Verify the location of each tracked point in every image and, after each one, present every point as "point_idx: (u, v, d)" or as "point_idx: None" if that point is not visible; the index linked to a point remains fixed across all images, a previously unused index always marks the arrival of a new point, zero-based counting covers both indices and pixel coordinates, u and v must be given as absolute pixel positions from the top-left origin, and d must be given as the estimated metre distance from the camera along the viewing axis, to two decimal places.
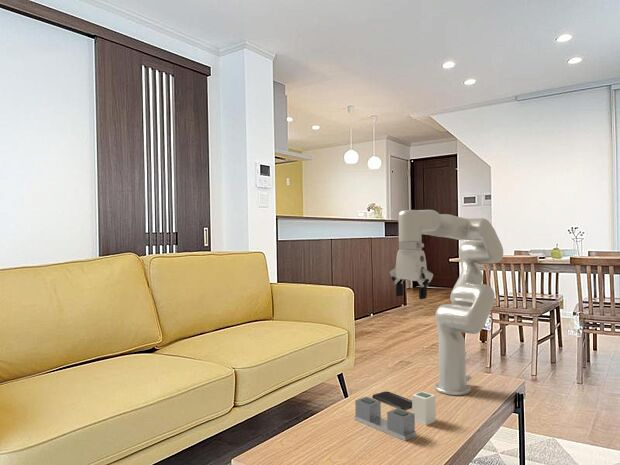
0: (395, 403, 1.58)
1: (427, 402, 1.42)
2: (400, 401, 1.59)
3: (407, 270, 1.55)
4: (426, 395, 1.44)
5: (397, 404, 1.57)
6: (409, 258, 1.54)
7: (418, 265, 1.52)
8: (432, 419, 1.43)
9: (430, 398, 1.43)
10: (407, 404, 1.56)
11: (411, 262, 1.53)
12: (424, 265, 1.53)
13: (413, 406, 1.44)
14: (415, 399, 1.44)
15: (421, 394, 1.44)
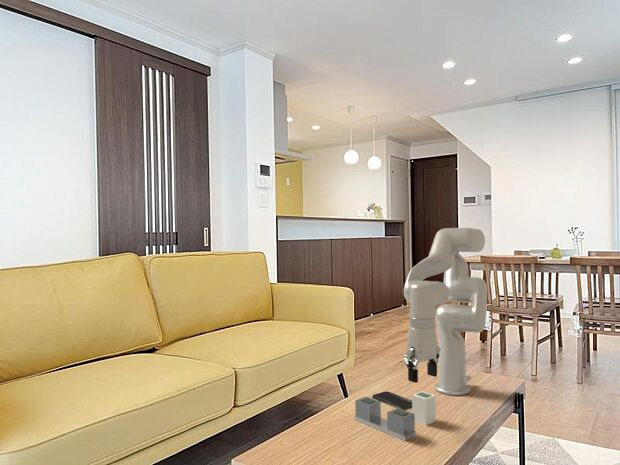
0: (395, 403, 1.58)
1: (427, 402, 1.42)
2: (400, 401, 1.59)
3: (430, 349, 1.43)
4: (426, 395, 1.44)
5: (397, 404, 1.57)
6: (432, 336, 1.43)
7: None
8: (432, 419, 1.43)
9: (430, 398, 1.43)
10: (407, 404, 1.57)
11: (433, 340, 1.44)
12: None
13: (413, 406, 1.44)
14: (415, 399, 1.44)
15: (421, 394, 1.44)
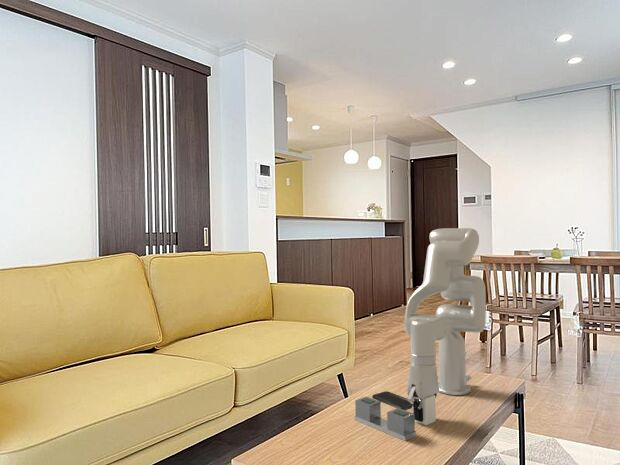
0: (395, 403, 1.57)
1: (427, 402, 1.42)
2: (400, 401, 1.59)
3: (431, 386, 1.43)
4: None
5: (397, 404, 1.57)
6: (433, 372, 1.43)
7: None
8: (432, 419, 1.43)
9: (430, 398, 1.42)
10: (407, 404, 1.57)
11: (434, 376, 1.44)
12: None
13: None
14: None
15: None
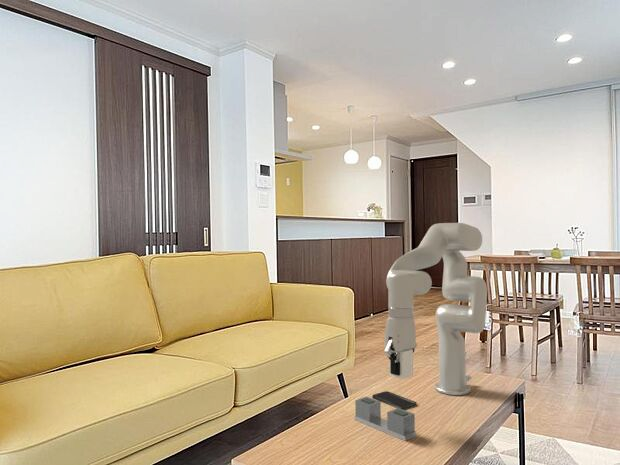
0: (395, 403, 1.57)
1: (405, 356, 1.39)
2: (400, 401, 1.59)
3: (408, 339, 1.40)
4: None
5: (397, 404, 1.57)
6: (410, 326, 1.41)
7: None
8: (409, 374, 1.40)
9: (408, 352, 1.40)
10: (407, 404, 1.57)
11: (412, 329, 1.41)
12: None
13: None
14: None
15: None
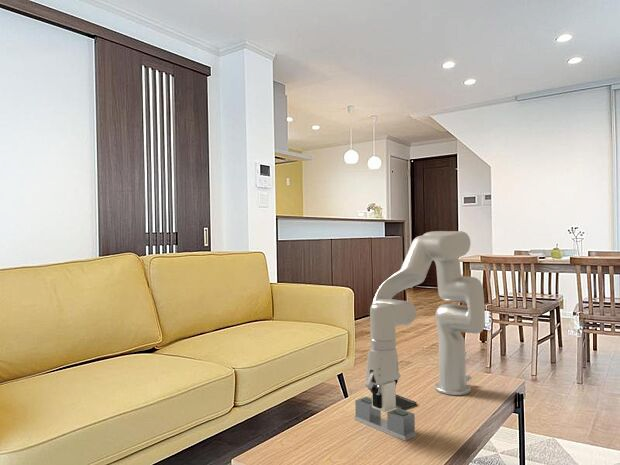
0: None
1: (386, 388, 1.37)
2: (400, 401, 1.59)
3: (390, 371, 1.38)
4: None
5: (397, 404, 1.57)
6: (392, 357, 1.39)
7: None
8: (392, 406, 1.38)
9: (390, 384, 1.38)
10: (407, 404, 1.57)
11: (394, 361, 1.40)
12: None
13: None
14: None
15: None
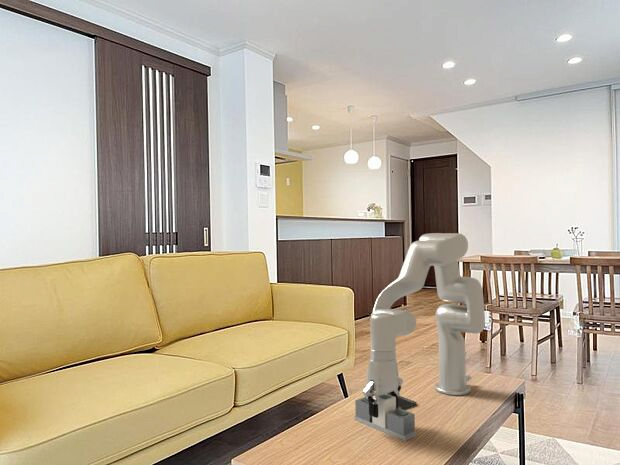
0: None
1: (387, 404, 1.37)
2: (400, 401, 1.59)
3: (390, 382, 1.38)
4: (386, 397, 1.39)
5: None
6: (392, 368, 1.39)
7: None
8: None
9: (390, 400, 1.38)
10: (407, 404, 1.57)
11: (394, 371, 1.40)
12: None
13: None
14: None
15: (381, 396, 1.40)
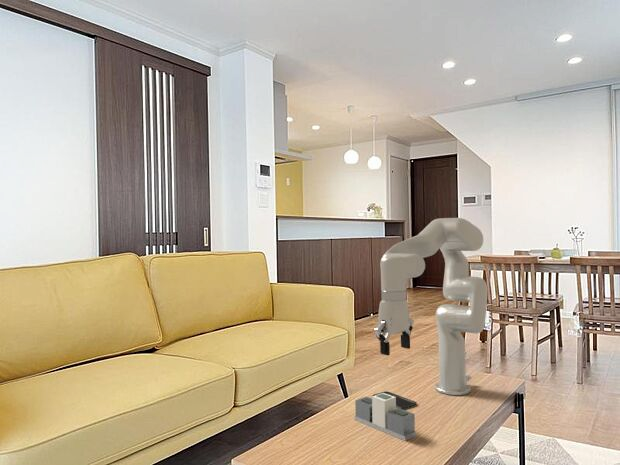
0: None
1: (387, 404, 1.37)
2: (400, 401, 1.59)
3: (401, 322, 1.42)
4: (386, 397, 1.39)
5: (397, 404, 1.57)
6: (403, 308, 1.42)
7: None
8: None
9: (390, 400, 1.38)
10: (407, 404, 1.57)
11: (405, 312, 1.43)
12: None
13: (373, 408, 1.40)
14: (375, 401, 1.39)
15: (381, 396, 1.40)
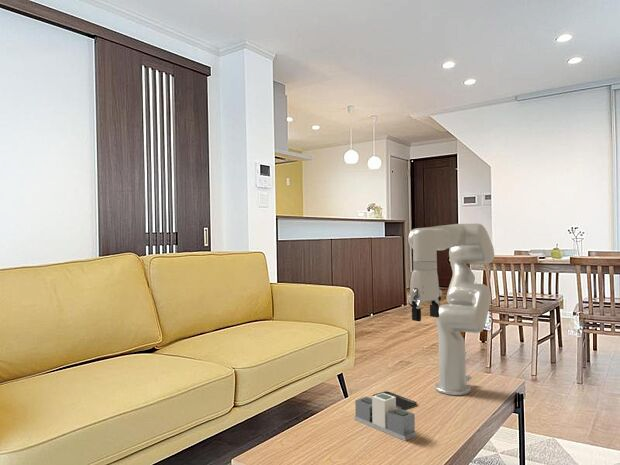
0: None
1: (387, 404, 1.37)
2: (400, 401, 1.59)
3: (432, 291, 1.50)
4: (386, 397, 1.39)
5: (397, 404, 1.57)
6: (434, 278, 1.51)
7: None
8: None
9: (390, 400, 1.38)
10: (407, 404, 1.57)
11: (435, 282, 1.52)
12: None
13: (373, 408, 1.40)
14: (375, 401, 1.39)
15: (381, 396, 1.40)
